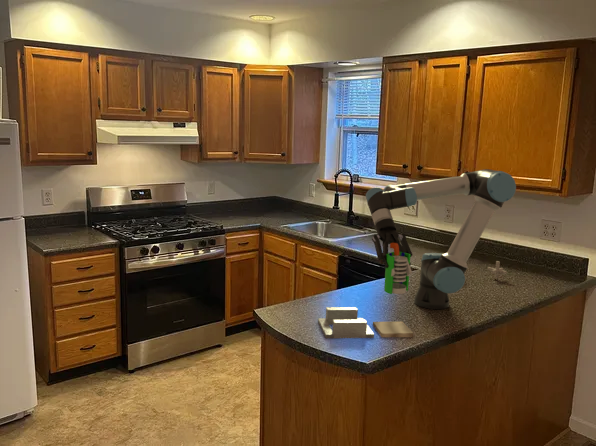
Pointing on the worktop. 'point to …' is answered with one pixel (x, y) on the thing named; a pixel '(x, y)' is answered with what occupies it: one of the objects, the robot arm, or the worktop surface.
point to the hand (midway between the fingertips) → (401, 274)
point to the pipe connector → (497, 270)
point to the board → (392, 329)
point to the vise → (344, 324)
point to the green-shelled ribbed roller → (396, 271)
